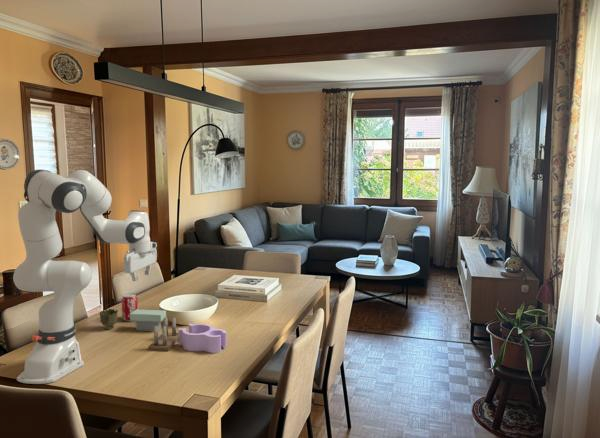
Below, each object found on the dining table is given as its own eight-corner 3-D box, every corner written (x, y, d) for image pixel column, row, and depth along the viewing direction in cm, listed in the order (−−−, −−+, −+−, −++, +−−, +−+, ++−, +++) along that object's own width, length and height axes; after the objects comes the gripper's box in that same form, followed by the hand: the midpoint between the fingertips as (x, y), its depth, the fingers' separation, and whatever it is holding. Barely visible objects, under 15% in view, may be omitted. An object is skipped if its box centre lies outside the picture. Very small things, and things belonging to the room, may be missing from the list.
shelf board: (166, 317, 206) (166, 310, 206) (160, 321, 200) (160, 315, 200) (136, 315, 208) (136, 309, 207) (130, 320, 202) (129, 313, 201)
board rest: (158, 331, 203) (157, 320, 202) (136, 330, 204) (136, 319, 203) (161, 328, 206) (160, 317, 205) (139, 327, 207) (139, 317, 206)
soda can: (141, 317, 219) (140, 293, 218) (132, 322, 213) (131, 297, 211) (128, 316, 221) (127, 292, 220) (119, 321, 215) (118, 296, 213)
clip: (232, 345, 188) (232, 329, 187) (214, 357, 177) (213, 339, 176) (194, 336, 197) (193, 321, 196) (174, 347, 186) (173, 331, 185)
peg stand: (167, 351, 182) (167, 329, 181) (148, 350, 183) (147, 328, 181) (181, 336, 197) (180, 316, 195) (163, 335, 197) (162, 315, 196)
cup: (96, 329, 204) (95, 312, 203) (110, 324, 211) (109, 307, 210) (108, 332, 201) (107, 315, 200) (121, 327, 207) (121, 310, 206)
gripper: (131, 252, 188) (133, 285, 190) (158, 242, 208) (160, 272, 210) (118, 251, 190) (120, 283, 192) (146, 241, 209) (147, 271, 212)
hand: (141, 277), depth 201 cm, fingers open, 8 cm apart
